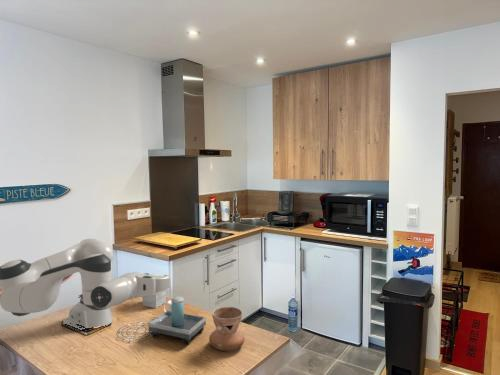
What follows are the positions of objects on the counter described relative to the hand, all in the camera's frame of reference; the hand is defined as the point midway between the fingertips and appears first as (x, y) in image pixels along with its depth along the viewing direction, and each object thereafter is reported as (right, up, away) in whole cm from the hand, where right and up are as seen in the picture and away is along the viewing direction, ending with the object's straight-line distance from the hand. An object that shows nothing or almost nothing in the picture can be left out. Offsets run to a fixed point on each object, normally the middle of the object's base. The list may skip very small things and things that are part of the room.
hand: (157, 276), depth 139 cm
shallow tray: (+5, -29, +14) cm, 33 cm away
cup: (-1, -28, +31) cm, 42 cm away
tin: (+5, -24, +14) cm, 28 cm away
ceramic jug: (+28, -30, +6) cm, 41 cm away
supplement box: (-14, -27, +47) cm, 56 cm away
